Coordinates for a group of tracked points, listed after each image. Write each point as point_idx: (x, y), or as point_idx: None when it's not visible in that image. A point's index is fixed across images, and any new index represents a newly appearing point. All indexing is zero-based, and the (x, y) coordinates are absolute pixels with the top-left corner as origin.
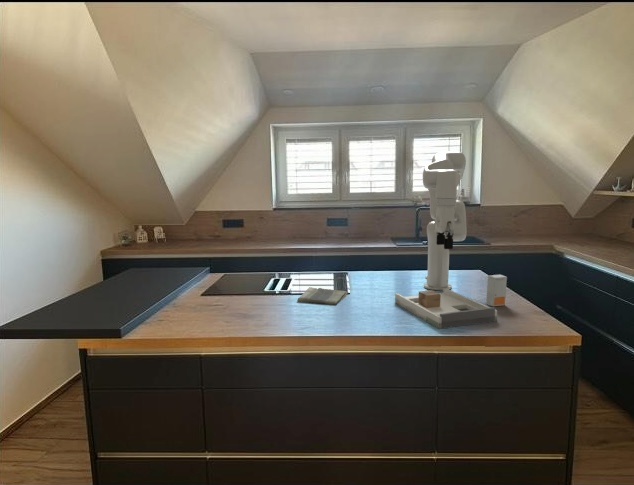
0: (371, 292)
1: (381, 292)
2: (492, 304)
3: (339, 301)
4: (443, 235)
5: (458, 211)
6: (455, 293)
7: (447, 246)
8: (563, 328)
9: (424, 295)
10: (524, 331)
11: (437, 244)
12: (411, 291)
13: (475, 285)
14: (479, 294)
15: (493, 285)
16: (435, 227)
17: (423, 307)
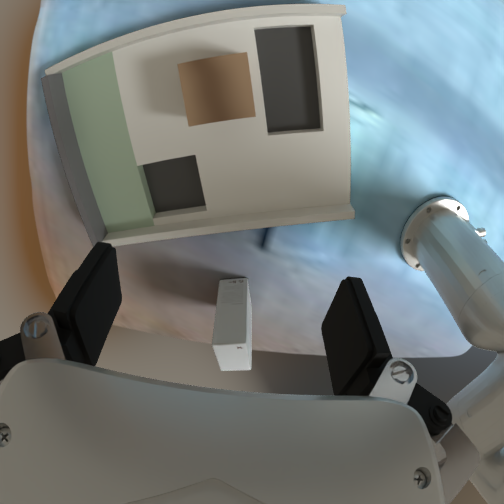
0: (457, 13)
1: (452, 39)
2: (220, 283)
3: None
4: (339, 388)
5: (499, 485)
6: (281, 218)
7: (76, 271)
8: None
9: (197, 60)
10: (58, 250)
11: (346, 279)
12: (435, 135)
13: (397, 321)
14: (331, 300)
15: (217, 324)
16: (382, 437)
17: (136, 39)
